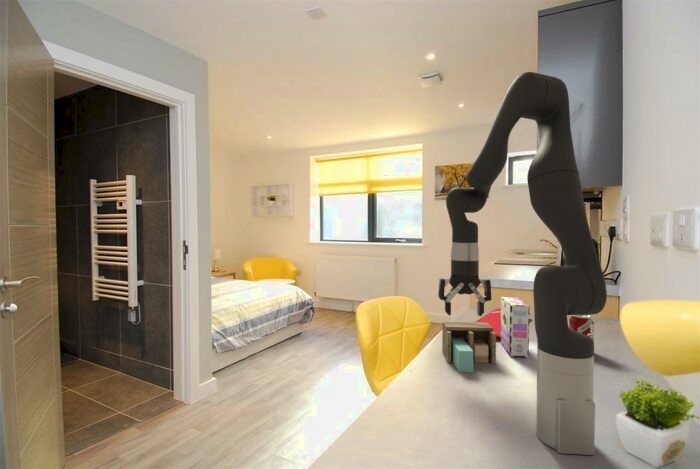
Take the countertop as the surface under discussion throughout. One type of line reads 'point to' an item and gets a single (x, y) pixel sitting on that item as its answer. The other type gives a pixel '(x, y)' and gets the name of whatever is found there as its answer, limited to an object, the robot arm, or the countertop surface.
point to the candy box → (515, 326)
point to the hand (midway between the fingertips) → (464, 315)
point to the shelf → (468, 337)
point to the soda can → (582, 325)
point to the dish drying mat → (494, 322)
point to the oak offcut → (480, 351)
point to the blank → (461, 355)
